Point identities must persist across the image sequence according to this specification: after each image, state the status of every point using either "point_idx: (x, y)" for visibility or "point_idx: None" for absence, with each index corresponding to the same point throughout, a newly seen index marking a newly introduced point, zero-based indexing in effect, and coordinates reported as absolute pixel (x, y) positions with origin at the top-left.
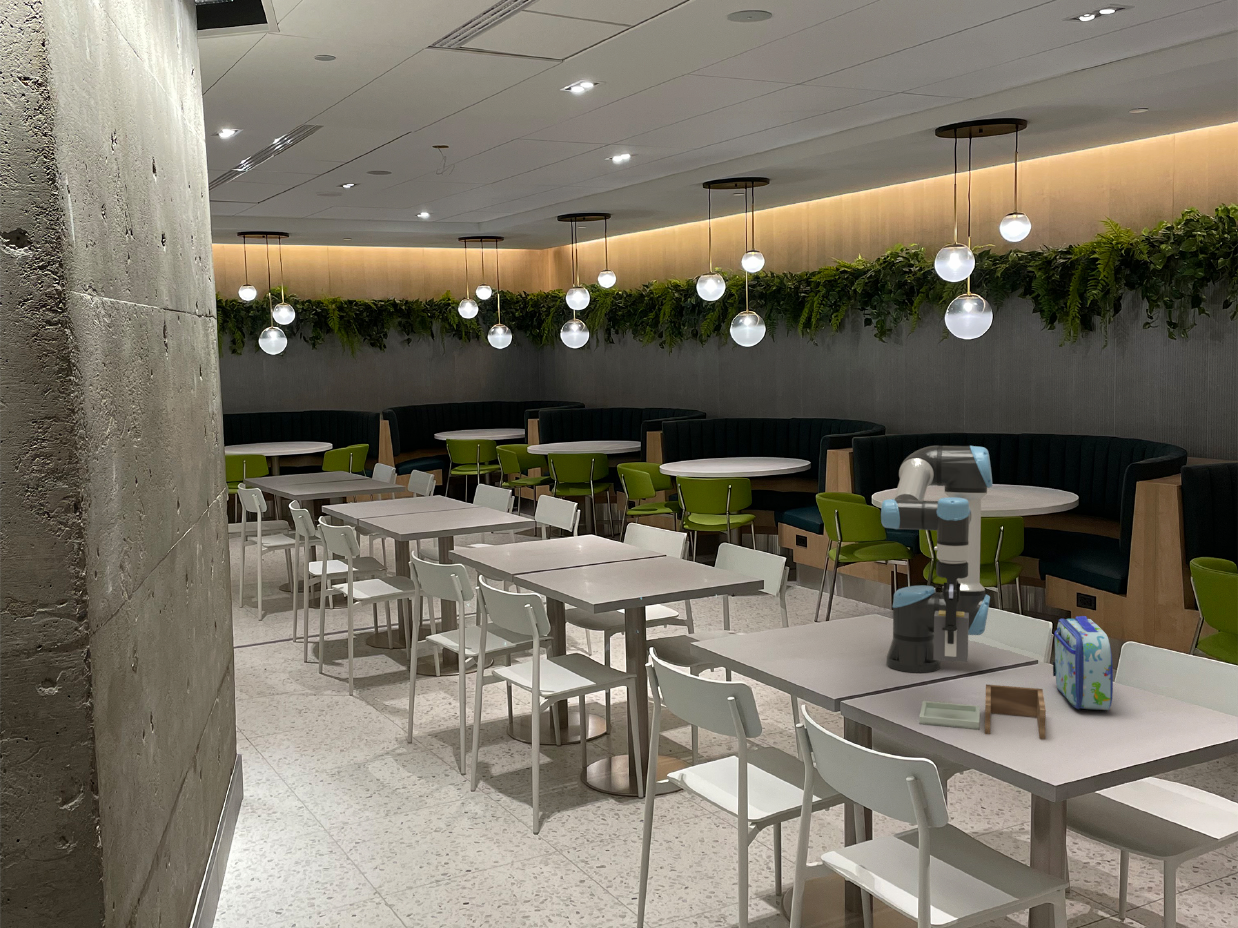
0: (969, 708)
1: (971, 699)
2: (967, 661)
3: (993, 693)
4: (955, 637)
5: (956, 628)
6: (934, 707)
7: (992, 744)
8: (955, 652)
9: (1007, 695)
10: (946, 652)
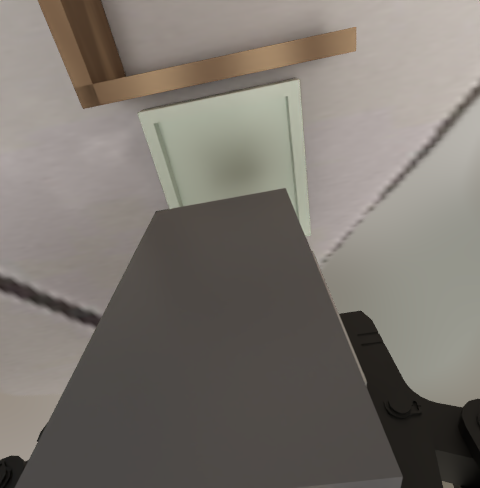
0: (160, 140)
1: (40, 158)
2: (285, 189)
3: (99, 70)
4: (346, 337)
5: (408, 404)
6: None
7: (421, 5)
8: (318, 267)
9: (77, 8)
10: None
